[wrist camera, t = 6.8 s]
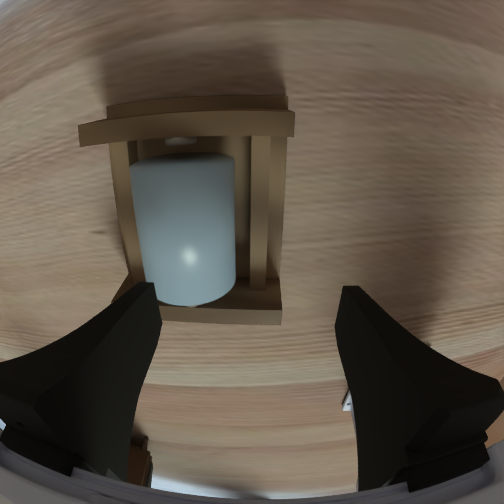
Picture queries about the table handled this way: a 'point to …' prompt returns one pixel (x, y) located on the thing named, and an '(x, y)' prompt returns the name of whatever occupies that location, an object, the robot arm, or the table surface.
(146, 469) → the alarm clock
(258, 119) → the holder
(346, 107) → the table surface
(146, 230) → the tapered cup
